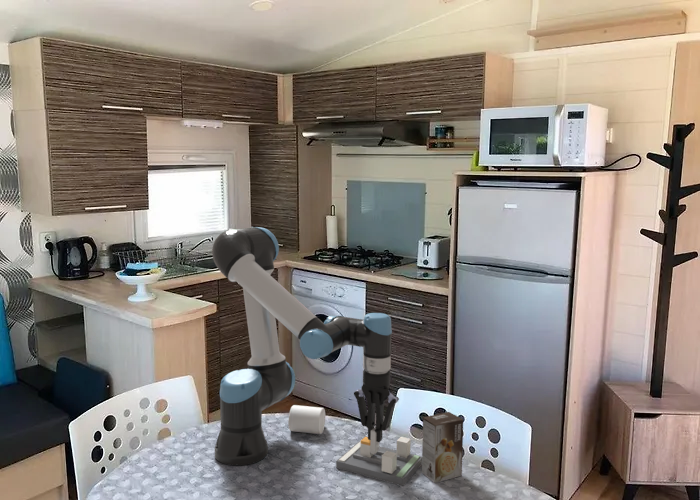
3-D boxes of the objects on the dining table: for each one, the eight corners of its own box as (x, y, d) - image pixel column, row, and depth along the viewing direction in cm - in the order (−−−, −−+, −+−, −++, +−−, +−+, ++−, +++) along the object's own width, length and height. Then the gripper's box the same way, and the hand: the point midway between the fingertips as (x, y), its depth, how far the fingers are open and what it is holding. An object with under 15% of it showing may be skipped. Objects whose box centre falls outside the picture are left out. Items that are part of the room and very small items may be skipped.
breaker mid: (360, 455, 164) (360, 440, 163) (365, 451, 167) (365, 436, 166) (369, 458, 163) (370, 443, 162) (374, 453, 165) (374, 438, 165)
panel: (336, 467, 162) (336, 458, 161) (359, 447, 174) (359, 438, 174) (403, 486, 152) (403, 476, 152) (422, 463, 165) (422, 454, 164)
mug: (319, 438, 180) (319, 413, 179) (288, 435, 182) (288, 410, 181) (328, 422, 191) (328, 399, 190) (299, 419, 193) (299, 396, 192)
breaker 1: (381, 470, 155) (381, 455, 155) (386, 466, 158) (386, 450, 158) (391, 473, 154) (392, 457, 154) (396, 468, 157) (396, 453, 156)
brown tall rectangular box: (448, 465, 164) (450, 410, 162) (462, 476, 158) (464, 419, 156) (420, 473, 159) (422, 416, 157) (434, 484, 154) (436, 425, 152)
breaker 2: (396, 455, 164) (396, 440, 164) (400, 451, 167) (400, 436, 166) (406, 458, 163) (406, 443, 162) (410, 453, 166) (410, 438, 165)
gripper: (349, 369, 160) (347, 451, 163) (393, 378, 154) (390, 462, 157) (361, 362, 167) (359, 441, 170) (403, 370, 161) (401, 451, 164)
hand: (374, 451), depth 163 cm, fingers closed
